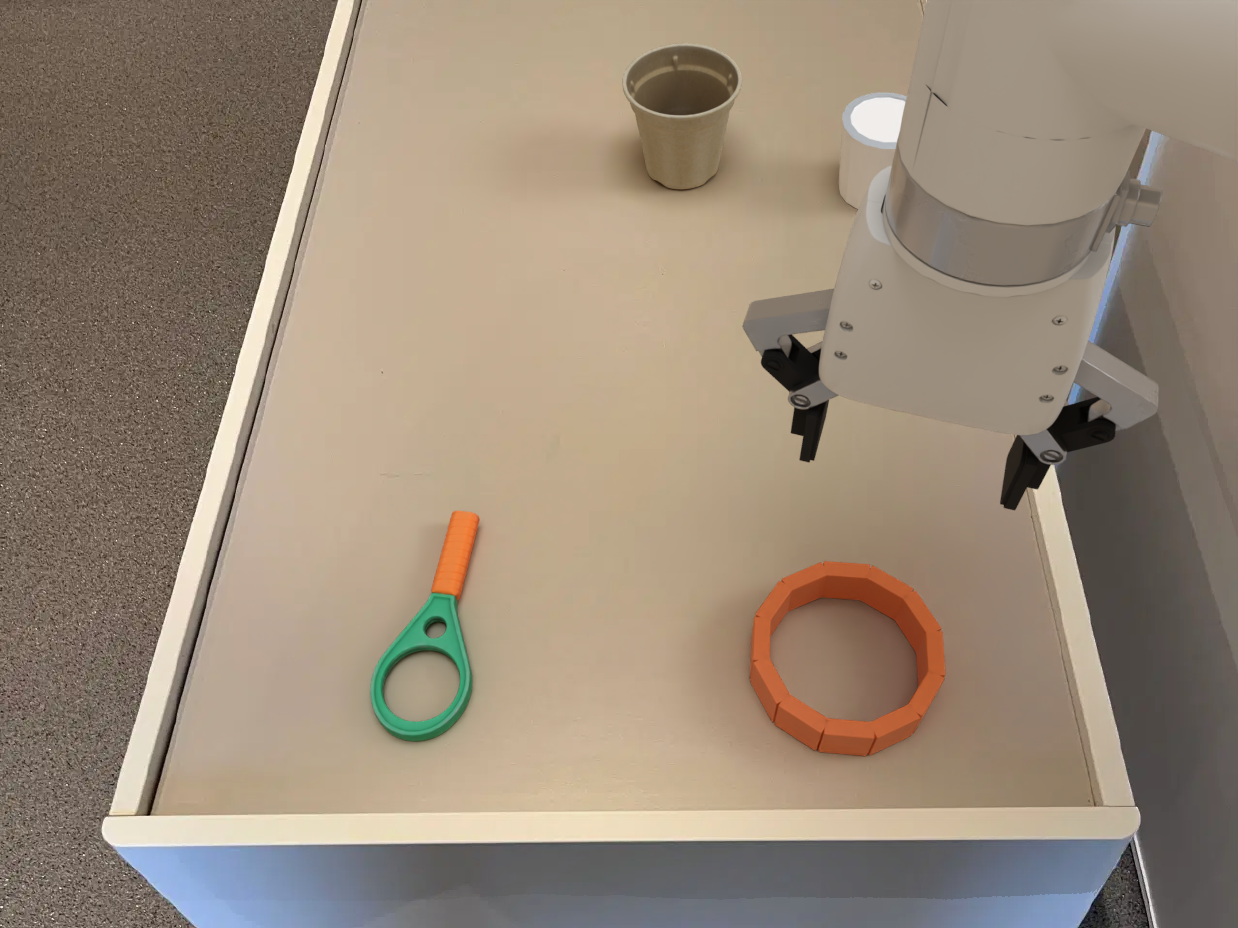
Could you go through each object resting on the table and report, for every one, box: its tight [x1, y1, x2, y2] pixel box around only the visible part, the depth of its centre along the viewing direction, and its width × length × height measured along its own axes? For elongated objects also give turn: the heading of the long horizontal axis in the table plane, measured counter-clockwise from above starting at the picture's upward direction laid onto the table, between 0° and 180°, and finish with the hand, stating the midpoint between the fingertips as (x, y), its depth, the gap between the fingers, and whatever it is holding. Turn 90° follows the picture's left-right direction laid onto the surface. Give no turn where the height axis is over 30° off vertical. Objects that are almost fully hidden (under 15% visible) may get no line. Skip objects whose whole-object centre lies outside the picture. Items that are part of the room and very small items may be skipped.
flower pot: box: [621, 42, 743, 190], centre depth 86 cm, size 9×9×9 cm
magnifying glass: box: [369, 510, 481, 742], centre depth 66 cm, size 15×6×2 cm, turn 171°
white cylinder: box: [838, 91, 907, 210], centre depth 84 cm, size 7×7×7 cm
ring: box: [749, 560, 947, 757], centre depth 63 cm, size 11×11×3 cm
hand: (909, 461), depth 51 cm, fingers open, 9 cm apart
